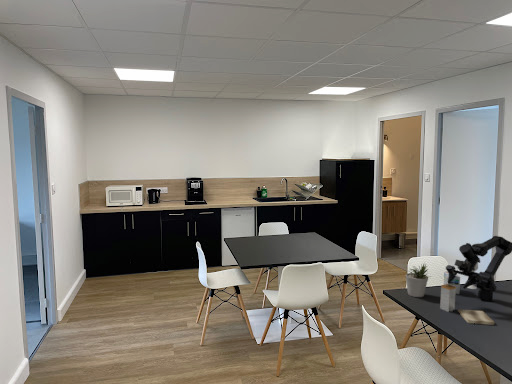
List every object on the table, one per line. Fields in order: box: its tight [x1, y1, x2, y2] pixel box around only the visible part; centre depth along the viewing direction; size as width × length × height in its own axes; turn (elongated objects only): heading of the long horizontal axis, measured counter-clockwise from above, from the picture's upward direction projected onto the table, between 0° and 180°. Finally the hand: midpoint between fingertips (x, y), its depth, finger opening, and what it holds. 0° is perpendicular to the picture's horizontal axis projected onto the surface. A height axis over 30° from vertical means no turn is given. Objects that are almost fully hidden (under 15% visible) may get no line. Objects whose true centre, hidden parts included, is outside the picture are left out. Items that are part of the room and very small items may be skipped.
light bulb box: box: [443, 270, 461, 295], centre depth 240 cm, size 11×7×11 cm, turn 168°
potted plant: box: [405, 261, 432, 298], centre depth 231 cm, size 13×14×20 cm
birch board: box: [457, 309, 495, 326], centre depth 199 cm, size 12×14×2 cm
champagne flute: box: [466, 255, 479, 290], centre depth 247 cm, size 7×7×24 cm
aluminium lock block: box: [439, 284, 456, 313], centre depth 210 cm, size 5×5×13 cm
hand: (455, 285), depth 213 cm, fingers open, 9 cm apart
